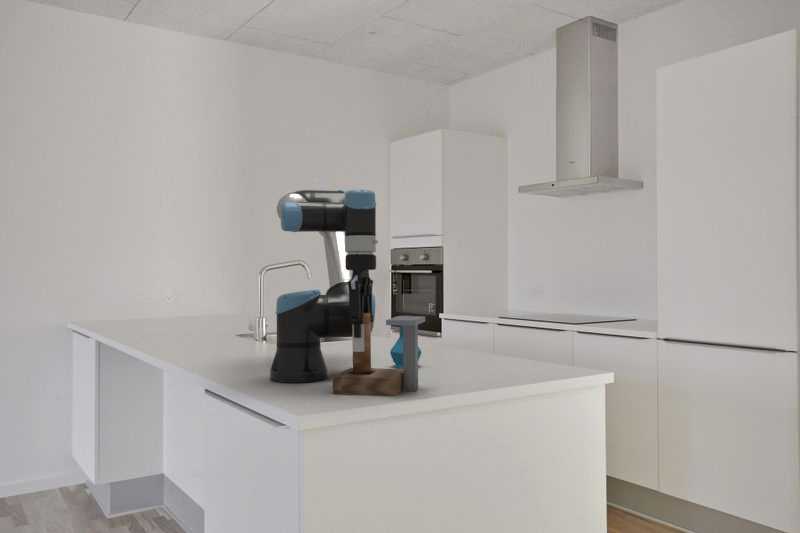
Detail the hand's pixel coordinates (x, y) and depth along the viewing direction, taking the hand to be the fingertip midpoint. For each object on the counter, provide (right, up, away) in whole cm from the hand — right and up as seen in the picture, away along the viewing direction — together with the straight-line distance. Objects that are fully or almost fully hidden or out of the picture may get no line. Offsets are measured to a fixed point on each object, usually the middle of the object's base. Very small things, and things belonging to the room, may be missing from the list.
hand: (361, 350), depth 162 cm
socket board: (+2, -9, 0) cm, 10 cm away
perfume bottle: (+11, -10, +36) cm, 39 cm away
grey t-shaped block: (+11, -9, -1) cm, 15 cm away
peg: (0, -5, 0) cm, 5 cm away
